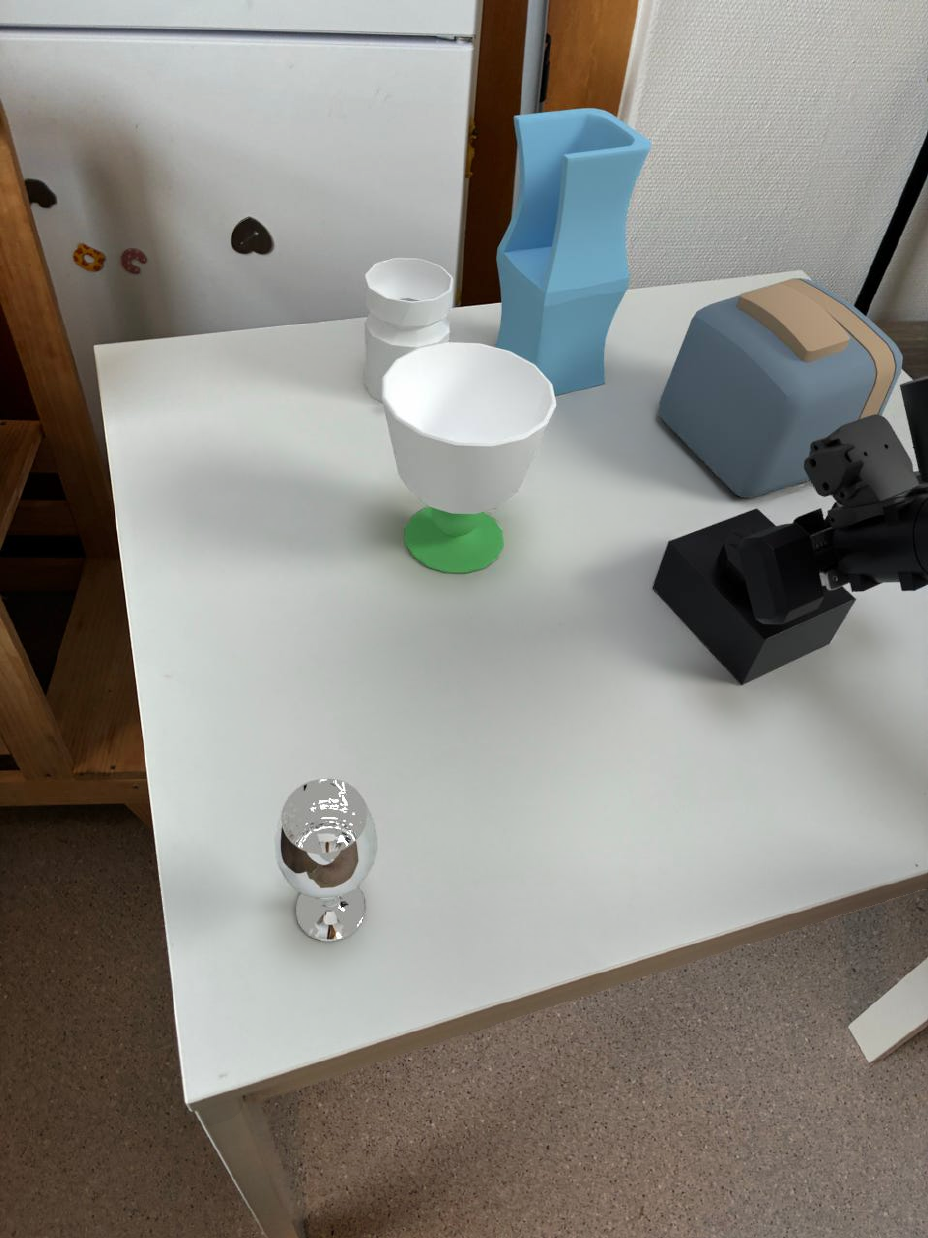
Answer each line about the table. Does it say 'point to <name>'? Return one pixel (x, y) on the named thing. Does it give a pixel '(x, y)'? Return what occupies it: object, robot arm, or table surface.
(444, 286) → the vase
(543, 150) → the vase
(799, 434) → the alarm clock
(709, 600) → the control block
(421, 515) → the cup
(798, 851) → the table surface
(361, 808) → the wineglass
